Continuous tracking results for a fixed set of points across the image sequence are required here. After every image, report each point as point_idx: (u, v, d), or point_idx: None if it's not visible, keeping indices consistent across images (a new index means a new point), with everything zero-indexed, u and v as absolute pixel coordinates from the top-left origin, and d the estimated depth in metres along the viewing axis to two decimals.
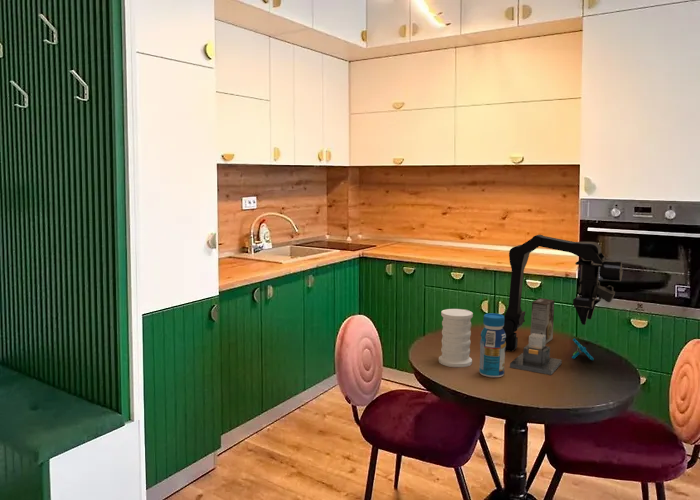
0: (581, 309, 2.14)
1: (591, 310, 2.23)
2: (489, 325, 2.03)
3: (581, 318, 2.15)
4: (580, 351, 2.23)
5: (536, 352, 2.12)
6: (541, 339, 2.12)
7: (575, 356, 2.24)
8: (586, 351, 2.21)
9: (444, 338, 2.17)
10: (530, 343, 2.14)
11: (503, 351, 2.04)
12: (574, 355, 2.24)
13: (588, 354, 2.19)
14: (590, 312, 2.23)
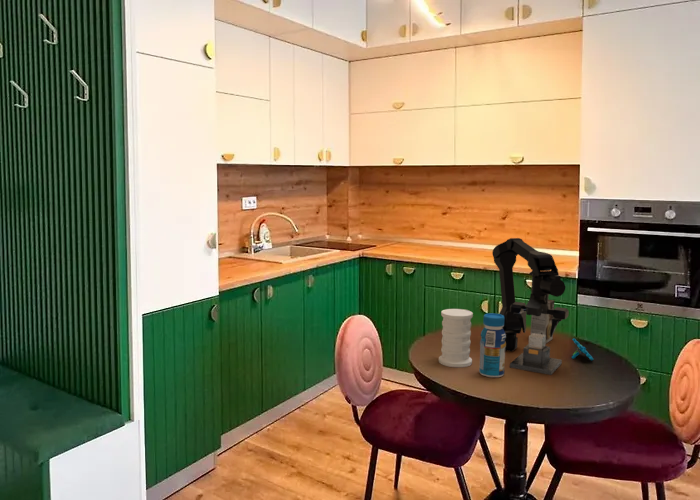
0: None
1: (551, 327, 2.12)
2: (489, 325, 2.03)
3: None
4: (580, 351, 2.23)
5: (536, 352, 2.12)
6: (541, 339, 2.12)
7: (575, 356, 2.24)
8: (586, 351, 2.21)
9: (444, 338, 2.17)
10: (530, 343, 2.14)
11: (503, 351, 2.04)
12: (574, 355, 2.24)
13: (588, 354, 2.19)
14: (551, 329, 2.12)
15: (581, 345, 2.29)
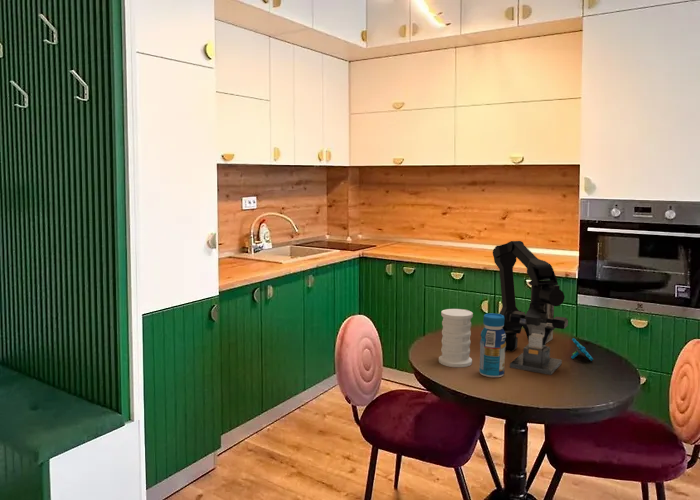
0: None
1: None
2: (489, 325, 2.03)
3: None
4: (579, 351, 2.23)
5: (536, 352, 2.12)
6: (541, 339, 2.12)
7: (574, 356, 2.24)
8: (585, 351, 2.21)
9: (444, 338, 2.17)
10: (530, 343, 2.14)
11: (503, 351, 2.04)
12: (573, 355, 2.24)
13: (587, 354, 2.19)
14: (544, 338, 2.14)
15: (581, 345, 2.29)
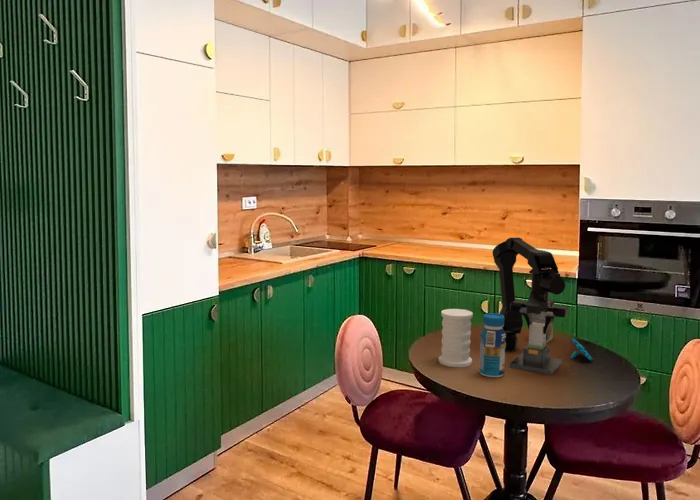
0: None
1: (545, 325, 2.13)
2: (489, 325, 2.03)
3: None
4: (579, 351, 2.23)
5: (536, 352, 2.12)
6: (542, 328, 2.12)
7: (574, 356, 2.24)
8: (584, 351, 2.21)
9: (444, 338, 2.17)
10: (531, 332, 2.14)
11: (503, 351, 2.04)
12: (573, 355, 2.24)
13: (586, 354, 2.19)
14: (544, 327, 2.13)
15: (581, 345, 2.29)
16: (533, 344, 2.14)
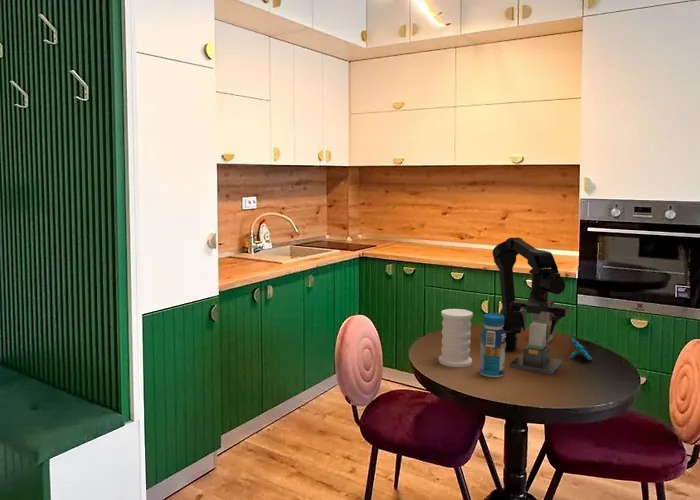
0: None
1: (551, 325, 2.12)
2: (489, 325, 2.03)
3: None
4: (578, 351, 2.24)
5: (536, 352, 2.12)
6: (542, 328, 2.12)
7: (573, 356, 2.24)
8: (584, 351, 2.21)
9: (444, 338, 2.17)
10: (531, 332, 2.14)
11: (503, 351, 2.04)
12: (572, 355, 2.25)
13: (585, 354, 2.19)
14: (551, 327, 2.12)
15: (580, 345, 2.29)
16: (533, 344, 2.14)
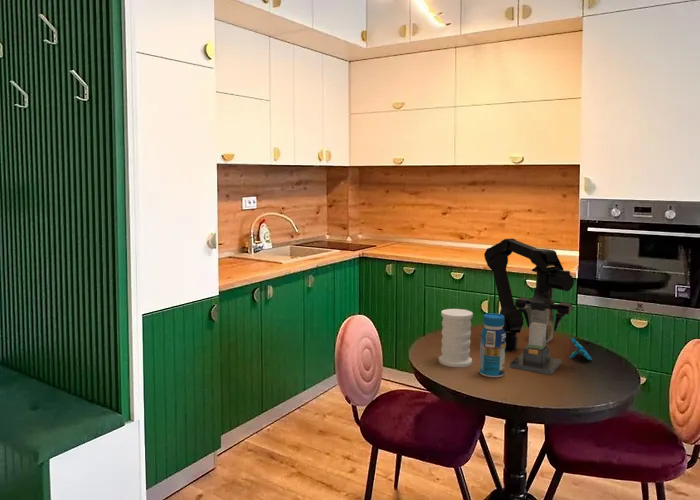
0: None
1: (555, 322, 2.17)
2: (489, 325, 2.03)
3: None
4: (578, 351, 2.24)
5: (536, 352, 2.12)
6: (542, 328, 2.12)
7: (573, 356, 2.24)
8: (583, 351, 2.21)
9: (444, 338, 2.17)
10: (531, 332, 2.14)
11: (503, 351, 2.04)
12: (572, 355, 2.25)
13: (585, 354, 2.19)
14: (555, 324, 2.17)
15: (580, 345, 2.29)
16: (533, 344, 2.14)
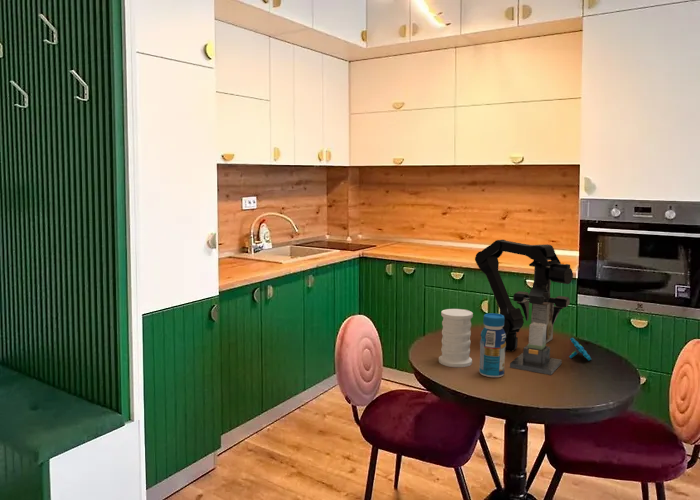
0: None
1: (553, 315, 2.21)
2: (489, 325, 2.03)
3: None
4: (577, 351, 2.24)
5: (536, 352, 2.12)
6: (542, 328, 2.12)
7: (572, 355, 2.25)
8: (583, 351, 2.21)
9: (444, 338, 2.17)
10: (531, 332, 2.14)
11: (503, 351, 2.04)
12: (571, 355, 2.25)
13: (584, 354, 2.20)
14: None
15: (580, 345, 2.29)
16: (533, 344, 2.14)
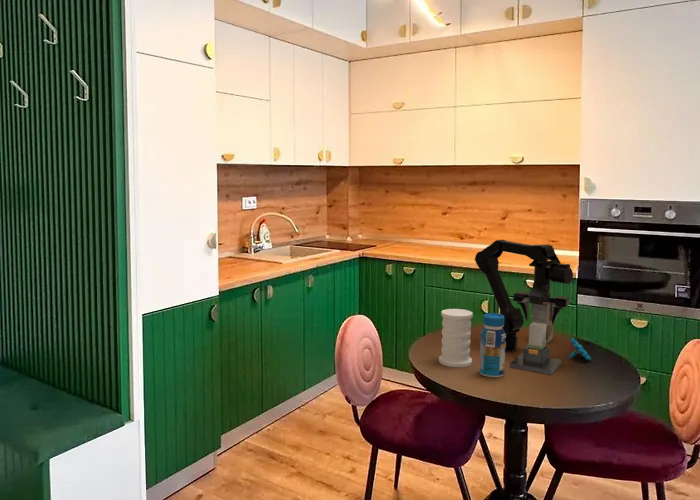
0: None
1: (553, 315, 2.21)
2: (489, 325, 2.03)
3: None
4: (577, 351, 2.24)
5: (536, 352, 2.12)
6: (542, 328, 2.12)
7: (572, 355, 2.25)
8: (582, 351, 2.21)
9: (444, 338, 2.17)
10: (531, 332, 2.14)
11: (503, 351, 2.04)
12: (571, 354, 2.25)
13: (584, 354, 2.20)
14: None
15: (580, 345, 2.29)
16: (533, 344, 2.14)
